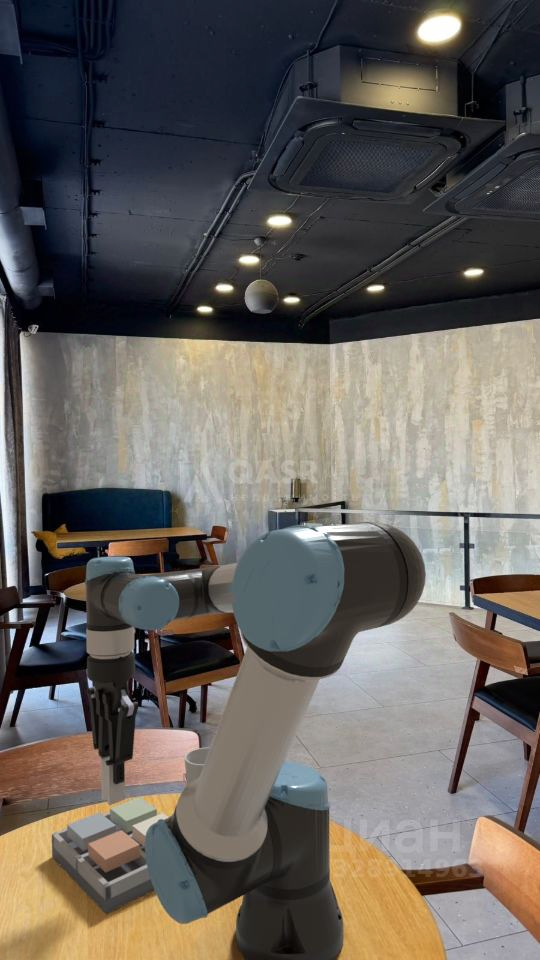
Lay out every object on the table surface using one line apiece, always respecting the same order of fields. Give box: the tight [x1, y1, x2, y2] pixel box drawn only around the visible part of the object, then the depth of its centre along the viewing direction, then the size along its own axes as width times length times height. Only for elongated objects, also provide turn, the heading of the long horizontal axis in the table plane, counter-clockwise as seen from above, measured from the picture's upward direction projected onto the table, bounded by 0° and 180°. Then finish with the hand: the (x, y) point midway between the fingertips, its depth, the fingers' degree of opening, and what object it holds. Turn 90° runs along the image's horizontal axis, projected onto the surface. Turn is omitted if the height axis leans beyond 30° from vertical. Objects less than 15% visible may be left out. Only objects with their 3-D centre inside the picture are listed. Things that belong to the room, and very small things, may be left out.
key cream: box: [132, 813, 170, 847], centre depth 107 cm, size 6×6×2 cm
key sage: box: [109, 796, 158, 833], centre depth 113 cm, size 6×6×2 cm
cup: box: [183, 747, 211, 787], centre depth 121 cm, size 8×8×12 cm
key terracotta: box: [88, 830, 140, 873], centre depth 102 cm, size 6×6×2 cm
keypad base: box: [51, 811, 160, 915], centre depth 107 cm, size 20×17×4 cm
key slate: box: [66, 812, 116, 851], centre depth 108 cm, size 6×6×2 cm
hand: (113, 799), depth 102 cm, fingers closed
